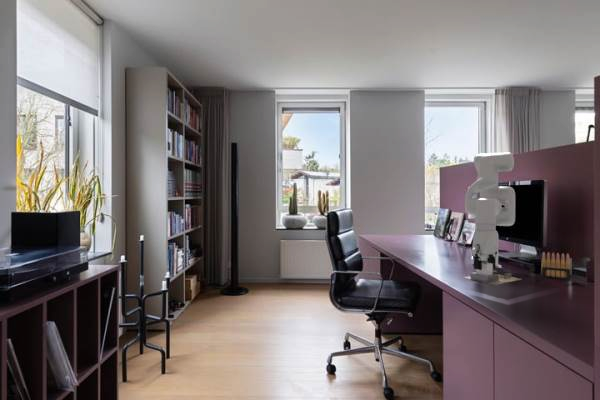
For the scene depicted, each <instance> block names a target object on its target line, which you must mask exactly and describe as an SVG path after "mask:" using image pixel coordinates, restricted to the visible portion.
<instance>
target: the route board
mask: <svg viewBox="0 0 600 400" xmlns="http://www.w3.org/2000/svg"><path fill="white" fill-rule="evenodd" d="M493 274H497V275H499V281H495V282H490V283H489V284H491V285H495V286H497V285H501V284H505V283H511V282H516V281H522V280H523V279H522V278H520V277H519V278H518V277H514V276H512V273H511V272H507V273H503V274H499V271H498V270H496V269H495V270H494V269H493ZM470 276H471V275H469V276H463V278H465V279H469V280H471V279H470ZM472 280H473V281H475V280H474V279H472ZM476 281H478V280H476ZM478 282H479V281H478ZM480 282H482V281H480ZM482 283H483V282H482ZM485 284H488V283H487V282H485Z"/></svg>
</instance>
